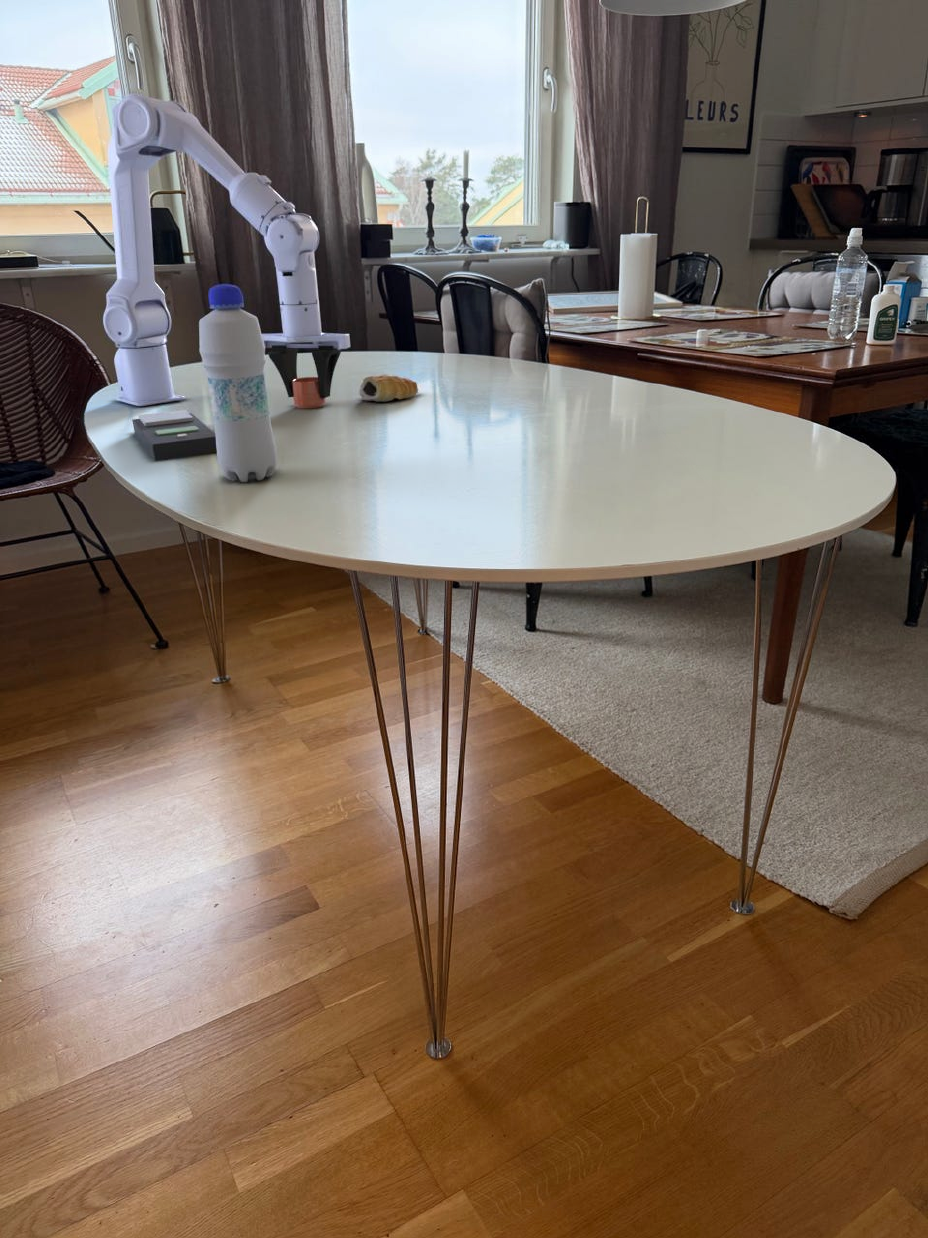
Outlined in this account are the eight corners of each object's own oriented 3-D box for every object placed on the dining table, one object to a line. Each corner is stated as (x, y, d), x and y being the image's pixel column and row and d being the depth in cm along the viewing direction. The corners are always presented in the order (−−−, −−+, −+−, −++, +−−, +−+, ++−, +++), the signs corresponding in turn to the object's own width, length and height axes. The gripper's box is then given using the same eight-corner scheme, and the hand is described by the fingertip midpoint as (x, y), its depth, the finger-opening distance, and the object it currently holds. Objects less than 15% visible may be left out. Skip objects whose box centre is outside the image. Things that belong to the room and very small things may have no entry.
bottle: (228, 469, 98) (201, 282, 90) (286, 468, 98) (264, 280, 90) (211, 485, 92) (180, 286, 84) (272, 484, 92) (247, 284, 83)
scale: (134, 433, 118) (131, 415, 117) (193, 426, 121) (190, 408, 120) (155, 460, 103) (151, 440, 102) (221, 451, 106) (218, 431, 105)
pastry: (402, 391, 142) (401, 367, 141) (428, 396, 138) (427, 372, 136) (356, 399, 137) (354, 375, 135) (382, 405, 132) (380, 379, 130)
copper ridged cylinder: (288, 406, 133) (285, 380, 132) (314, 401, 136) (311, 376, 135) (305, 410, 130) (302, 383, 128) (331, 405, 133) (329, 378, 131)
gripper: (242, 306, 125) (254, 400, 131) (332, 305, 121) (341, 402, 127) (266, 302, 132) (276, 391, 137) (352, 301, 128) (359, 394, 133)
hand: (309, 396), depth 133 cm, fingers closed on copper ridged cylinder, 5 cm apart
